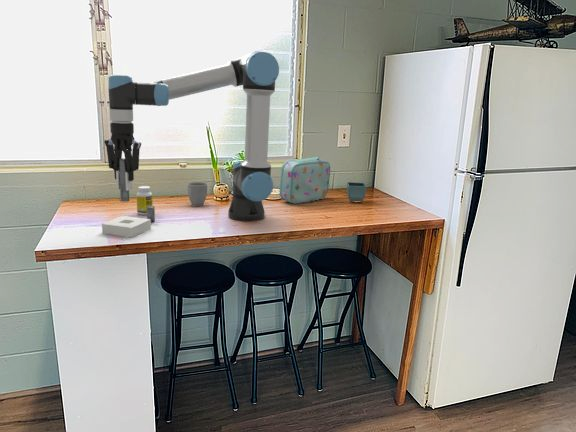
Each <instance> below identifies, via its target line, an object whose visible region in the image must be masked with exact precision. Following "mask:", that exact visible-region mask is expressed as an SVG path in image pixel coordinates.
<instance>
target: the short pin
mask: <svg viewBox="0 0 576 432" xmlns="http://www.w3.org/2000/svg"><path fill="white" fill-rule="evenodd" d="M146 208H147V215H146V219H151V224H152V223H155V222H156V214H155V213H156V212H155V211H156V209H155V206H154V205H153V206H147V207H146Z"/></svg>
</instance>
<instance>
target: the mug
mask: <svg viewBox="0 0 576 432" xmlns="http://www.w3.org/2000/svg"><path fill="white" fill-rule="evenodd" d="M186 185H187V186H186V187H187V195H188V199H189V201H190V204H191V205H192V207H193V206H194V207H200V206H201V207H202V206H204V205H205V201H206V198H207V195H208V183H207V182H204V181H192V182H187V184H186Z"/></svg>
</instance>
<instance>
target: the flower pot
mask: <svg viewBox="0 0 576 432" xmlns="http://www.w3.org/2000/svg"><path fill="white" fill-rule="evenodd" d="M367 188H368V186H367V185H366V184H365V182H353V181H351V182H350V181H347V182H346V193H347V198H348V200H349V202H350V201H362V202H363V201H364V200H365V197H366V193H367Z"/></svg>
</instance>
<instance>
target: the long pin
mask: <svg viewBox="0 0 576 432" xmlns="http://www.w3.org/2000/svg"><path fill="white" fill-rule="evenodd" d="M126 171H127V167H126V161H125V157H122V158H120V159H119V175H120V189H119V192H120V193H119V196H120V199H119V200H120V202H123V203H125V202H130V190H128V191H127V190H126V181H125V172H126Z"/></svg>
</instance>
